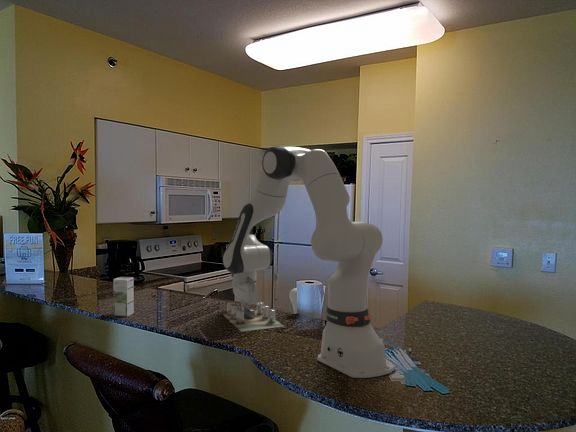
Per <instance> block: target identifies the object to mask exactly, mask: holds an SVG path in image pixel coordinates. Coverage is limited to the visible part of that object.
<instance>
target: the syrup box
mask: <svg viewBox="0 0 576 432" xmlns="http://www.w3.org/2000/svg"><path fill="white" fill-rule="evenodd" d="M134 280H135V279H134V276H133V277H132V276H131V277H130V276H119V277H118V276H117V277H116V278H114V279H113V281H112V283H113V284H112V285H113V287H112V288H113V289H112V290H113V291H112V292H113V294H112V296H113V317H129V316H131V315H133V314H134V313H135V308H134V307H135V305H134V301H135V300H134V294H135V293H134V287H135V286H134Z"/></svg>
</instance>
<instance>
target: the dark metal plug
mask: <svg viewBox="0 0 576 432" xmlns="http://www.w3.org/2000/svg"><path fill="white" fill-rule="evenodd" d="M255 310H256V309H255V308H252V307H251V308H249V307H248V308H247V309H244V310H243V311H244V319H254V318H255Z"/></svg>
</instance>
